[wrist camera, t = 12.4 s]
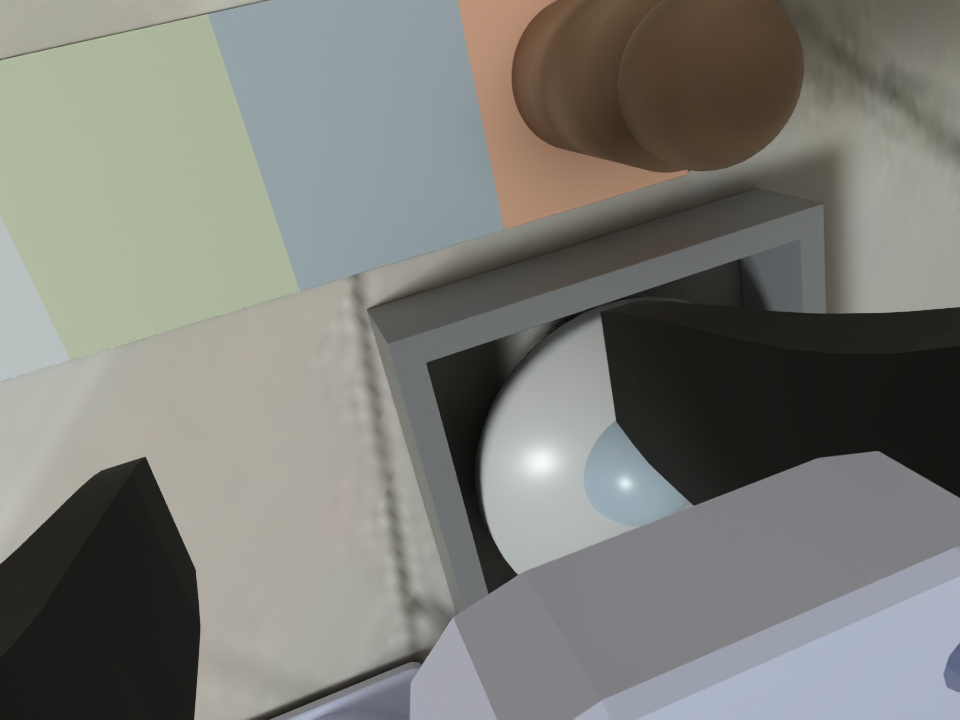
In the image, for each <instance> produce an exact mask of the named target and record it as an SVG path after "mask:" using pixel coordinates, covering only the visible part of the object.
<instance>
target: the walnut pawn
mask: <svg viewBox="0 0 960 720" xmlns="http://www.w3.org/2000/svg"><path fill="white" fill-rule="evenodd" d="M803 71H804V62H803V52H802V47H801V43H800V40H799V37H798V34H797V32H796V29H795V27H794V25H793V23H792V21H791V20H790V18H789V17H788V15H787V14H786V13H785V12H784V10H783V9H782V8H781V7H780V6H779V5H778V4H777V3H776V2H775V1H774V0H557V1H555V2H553V3H551V4H550V5H548V6H547V7H545V8H544V9H542V10H541V11H540V12H539V13H538V14H537V15H536V16H535V17H534V18H533V19H532V20H531V22H530V23H529V24H528V26H527V27H526V29H525V30H524V32H523V34H522V36H521V38H520V39H519V42H518V44H517V47H516V50H515V54H514V58H513V63H512V90H513V95H514V100H515V103H516V106H517V109H518V111H519V113H520V115H521V117H522V119H523V121H524V122H525V123H526V125H527V126H528V128H529V129H530V130H531V131H532V132H533V133H534V134H535V135H536V136H537V137H539V138H540V139H541V140H543V141H544V142H546V143H548V144H550V145H552V146H554V147H557V148H561V149H565V150H569V151H573V152H576V153H580V154H584V155H588V156H592V157H596V158H600V159H604V160H608V161H612V162H616V163H620V164H624V165H628V166H632V167H636V168H640V169H644V170H648V171H652V172H660V173H671V172H678V171H683V170H694V171H711V170H718V169H723V168H727V167H730V166H733V165H735V164H738V163H741V162H743V161H745V160H747V159H749V158H751V157H752V156H753V155H755V154H756V153H758V152H759V151H761V150H762V149H764V148H765V147H766V146H767V145H768V144H769V143H770V142H772V140H773V139H774V138H775V137H776V136H777V135H778V134H779V133H780V131H781V130H782V129H783V127H784V126H785V125H786V123H787V122H788V120H789V118H790V116H791V115H792V113H793V111H794V108H795V106H796V104H797V101H798V98H799V95H800V91H801V87H802V81H803Z"/></svg>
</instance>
